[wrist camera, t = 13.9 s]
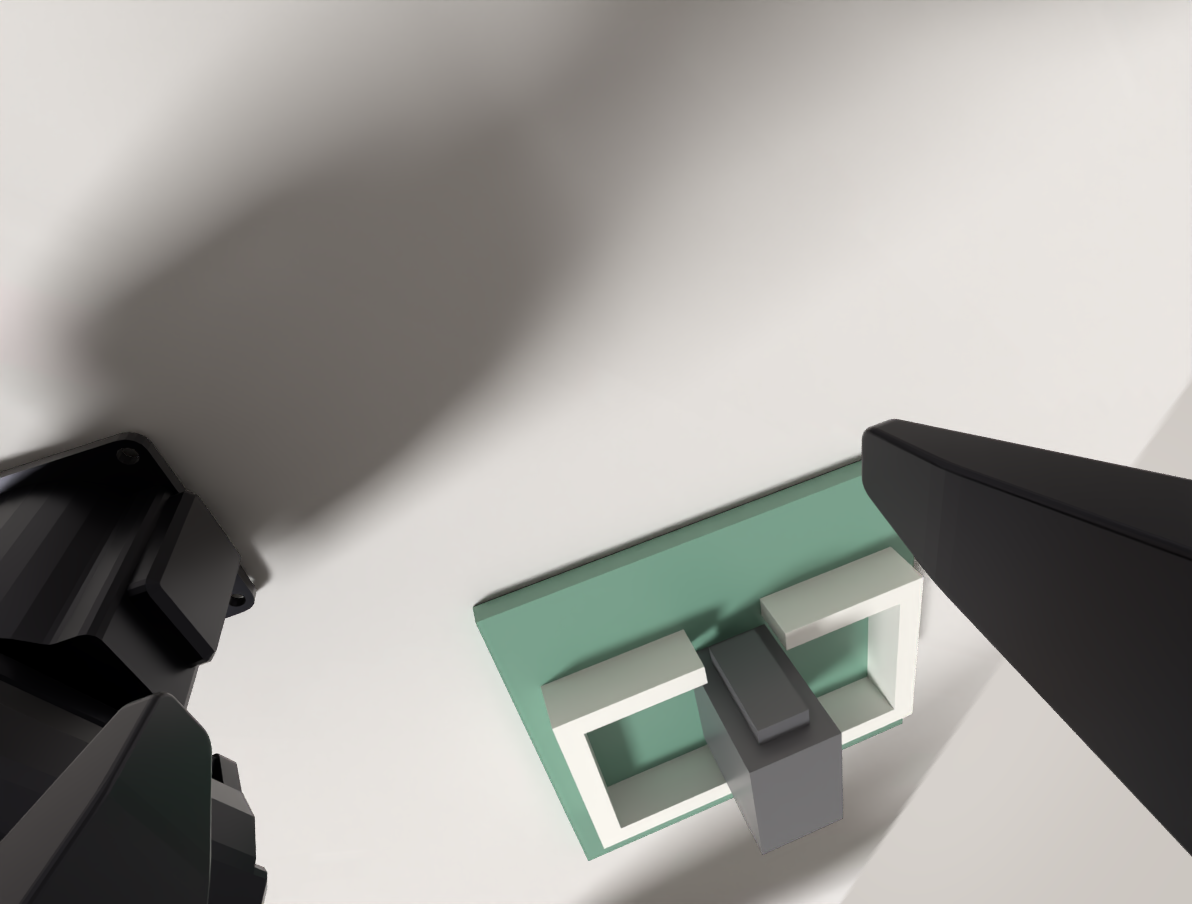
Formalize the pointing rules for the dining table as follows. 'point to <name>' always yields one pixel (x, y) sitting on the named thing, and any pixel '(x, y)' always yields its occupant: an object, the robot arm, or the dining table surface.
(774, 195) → the dining table surface
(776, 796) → the plug
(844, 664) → the board
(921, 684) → the dining table surface
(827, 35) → the dining table surface
